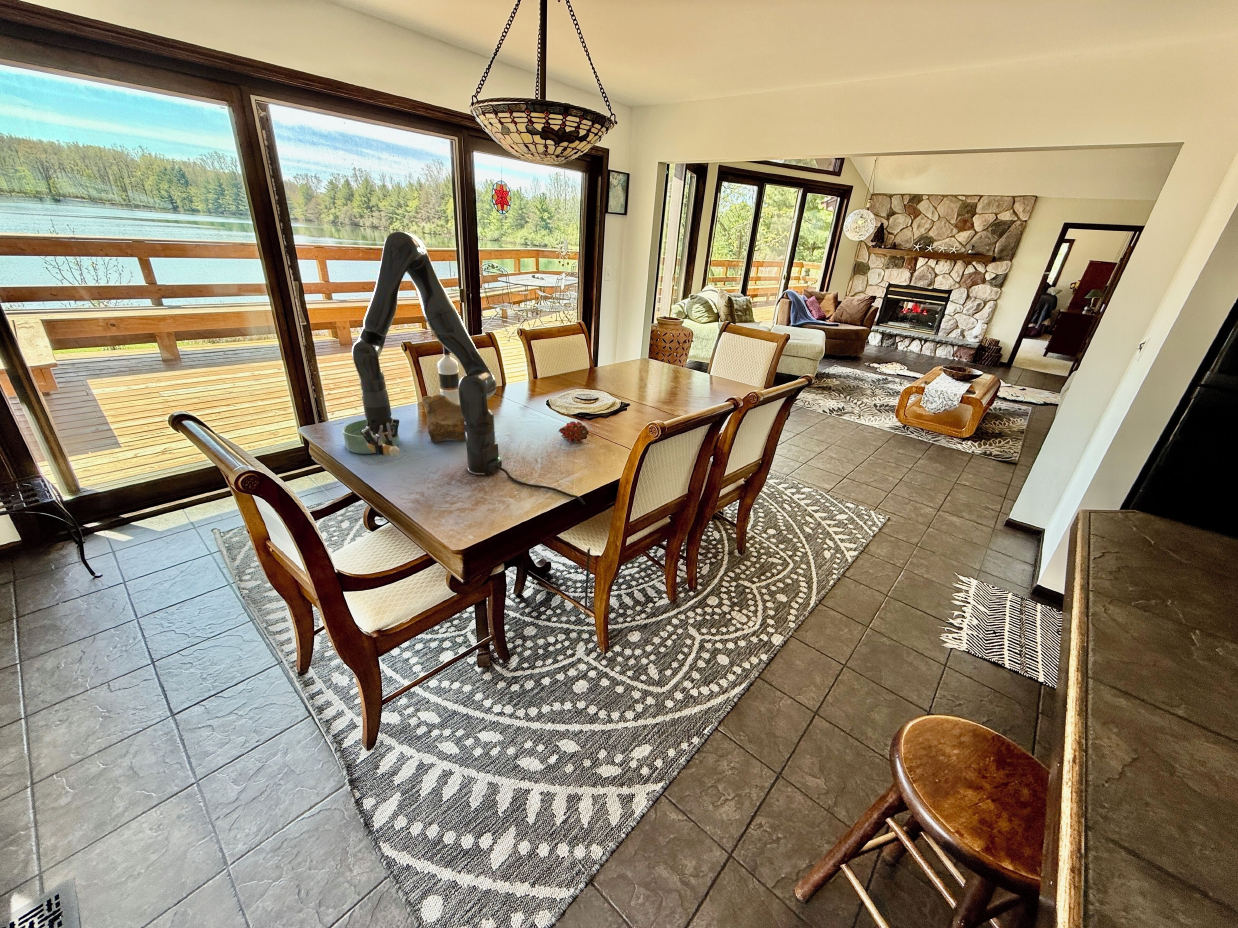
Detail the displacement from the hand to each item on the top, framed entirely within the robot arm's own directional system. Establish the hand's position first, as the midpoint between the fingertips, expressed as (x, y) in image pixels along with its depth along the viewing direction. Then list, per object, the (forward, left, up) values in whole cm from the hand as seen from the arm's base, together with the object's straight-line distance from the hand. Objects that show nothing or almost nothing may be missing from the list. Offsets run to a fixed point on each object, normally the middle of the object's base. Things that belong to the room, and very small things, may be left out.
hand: (385, 452), depth 158 cm
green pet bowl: (+16, -8, -4) cm, 18 cm away
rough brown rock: (-1, -27, -4) cm, 28 cm away
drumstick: (0, 0, 0) cm, 0 cm away
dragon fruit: (-42, -51, -4) cm, 66 cm away
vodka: (+19, -51, -4) cm, 55 cm away
